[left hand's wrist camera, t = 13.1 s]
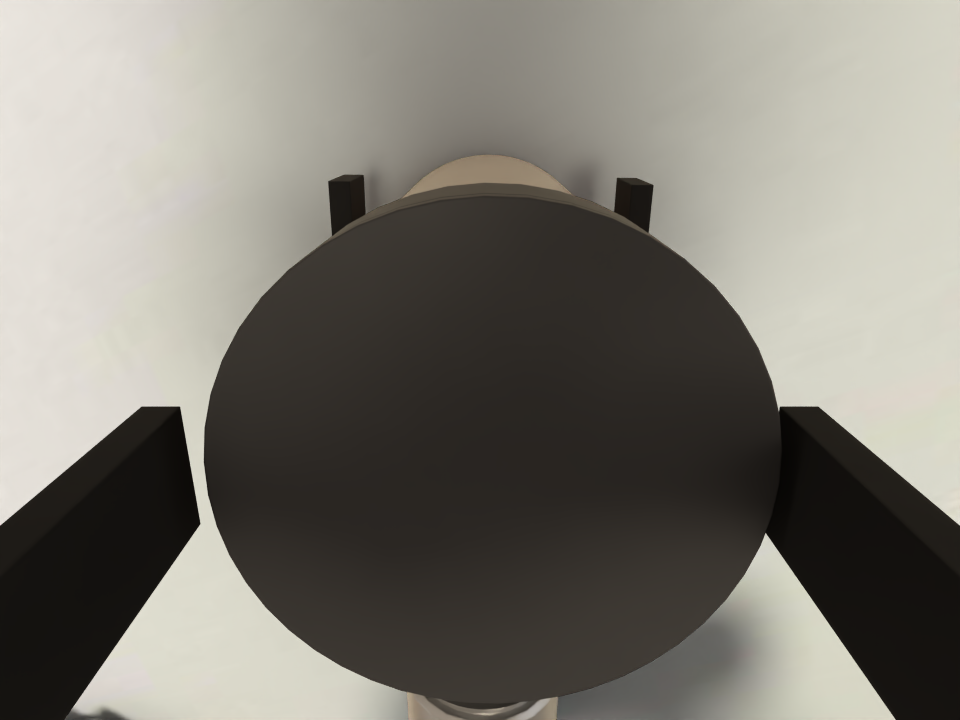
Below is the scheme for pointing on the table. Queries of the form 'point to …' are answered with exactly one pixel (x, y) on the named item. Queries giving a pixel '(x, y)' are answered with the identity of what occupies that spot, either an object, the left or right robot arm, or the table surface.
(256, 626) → the table surface
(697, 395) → the lid
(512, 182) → the jar
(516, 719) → the right robot arm
